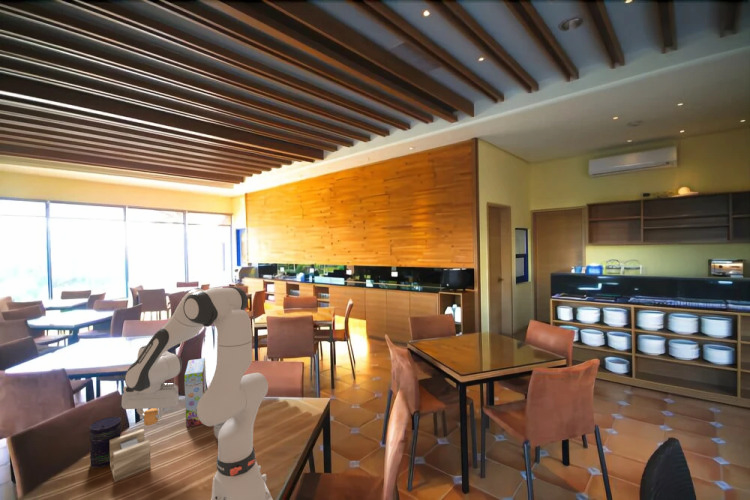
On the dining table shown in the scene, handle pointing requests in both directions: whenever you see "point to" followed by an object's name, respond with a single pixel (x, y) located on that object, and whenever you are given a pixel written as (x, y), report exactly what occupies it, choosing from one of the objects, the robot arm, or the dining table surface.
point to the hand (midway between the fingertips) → (151, 418)
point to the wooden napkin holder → (129, 454)
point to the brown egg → (150, 416)
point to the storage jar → (103, 440)
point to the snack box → (194, 389)
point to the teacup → (218, 428)
